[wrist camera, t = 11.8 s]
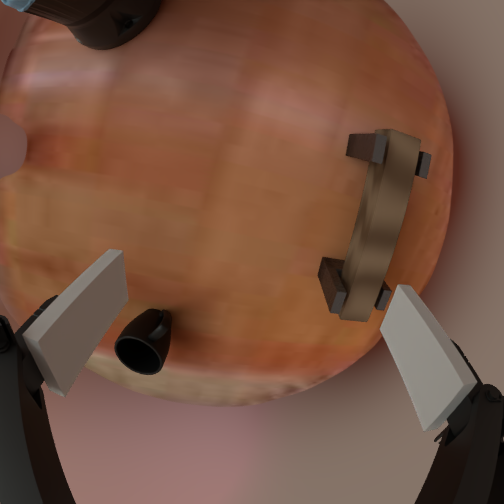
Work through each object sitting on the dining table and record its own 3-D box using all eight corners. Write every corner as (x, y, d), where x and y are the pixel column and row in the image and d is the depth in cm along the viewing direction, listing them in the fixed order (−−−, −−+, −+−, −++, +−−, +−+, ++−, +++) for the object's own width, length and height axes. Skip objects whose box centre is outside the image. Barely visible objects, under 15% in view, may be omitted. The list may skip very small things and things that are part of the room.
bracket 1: (349, 134, 33) (376, 133, 24) (402, 150, 34) (440, 156, 24) (345, 155, 35) (371, 161, 25) (398, 170, 35) (435, 181, 25)
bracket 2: (322, 257, 40) (337, 291, 31) (372, 265, 40) (397, 299, 31) (317, 274, 42) (330, 312, 32) (367, 282, 42) (388, 318, 32)
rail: (375, 129, 30) (391, 129, 25) (402, 138, 30) (421, 139, 25) (332, 299, 39) (340, 319, 34) (357, 302, 39) (367, 322, 34)
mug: (200, 312, 45) (187, 350, 36) (162, 346, 49) (146, 381, 40) (162, 280, 43) (140, 313, 34) (128, 318, 47) (106, 351, 38)
